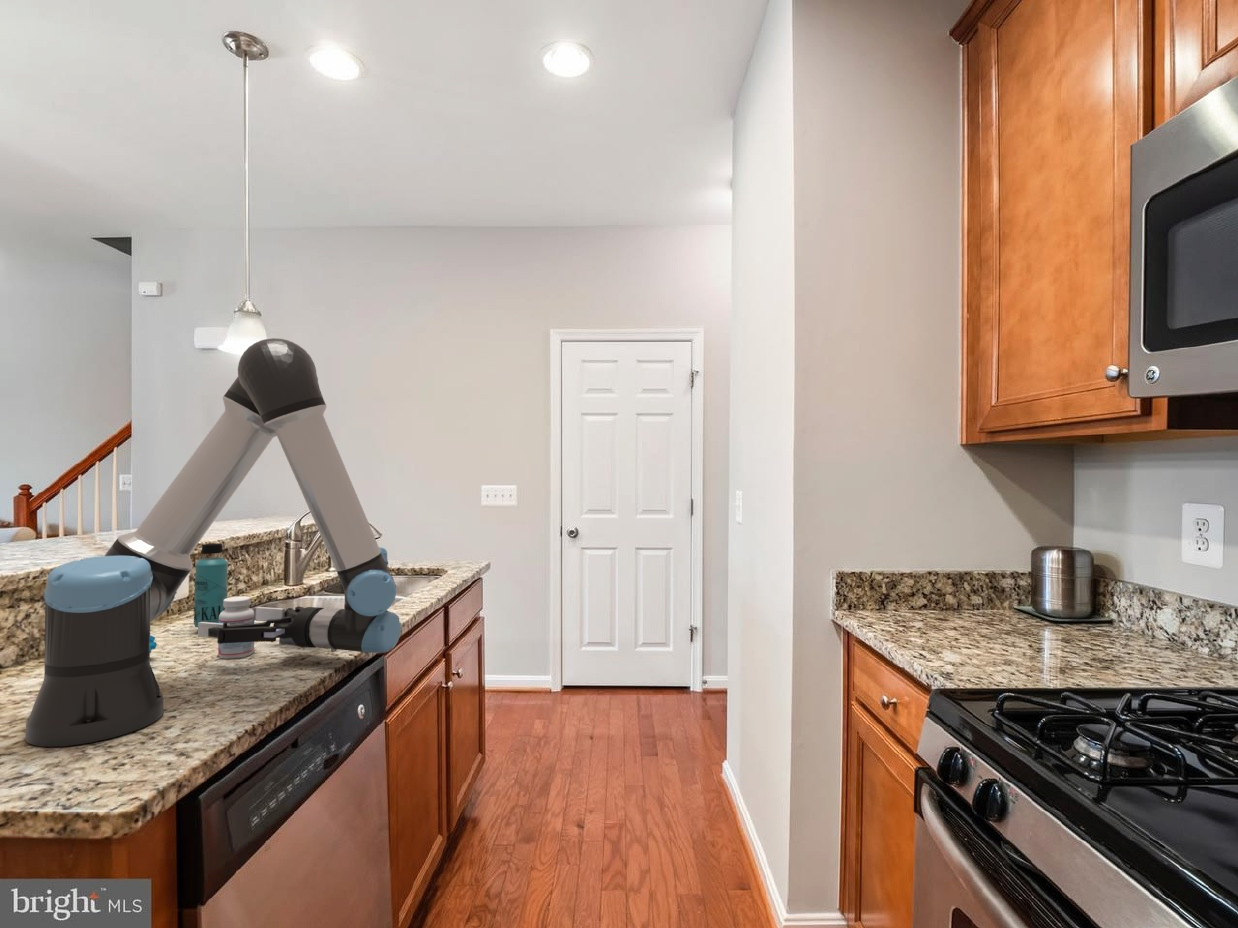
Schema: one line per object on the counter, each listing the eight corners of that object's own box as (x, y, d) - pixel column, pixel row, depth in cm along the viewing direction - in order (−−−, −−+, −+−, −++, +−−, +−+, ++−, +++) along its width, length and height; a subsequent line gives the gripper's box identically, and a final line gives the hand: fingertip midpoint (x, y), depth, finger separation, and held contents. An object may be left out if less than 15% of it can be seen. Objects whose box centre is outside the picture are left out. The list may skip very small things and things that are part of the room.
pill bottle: (225, 651, 126) (225, 596, 126) (258, 649, 127) (259, 594, 127) (212, 660, 120) (213, 602, 120) (247, 658, 121) (248, 600, 121)
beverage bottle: (202, 627, 145) (204, 541, 145) (233, 627, 145) (234, 541, 146) (186, 635, 138) (187, 545, 138) (218, 634, 139) (219, 544, 139)
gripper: (270, 667, 107) (171, 657, 112) (362, 631, 131) (277, 625, 136) (271, 623, 107) (172, 616, 112) (362, 595, 131) (278, 590, 136)
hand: (229, 621), depth 124 cm, fingers open, 13 cm apart
